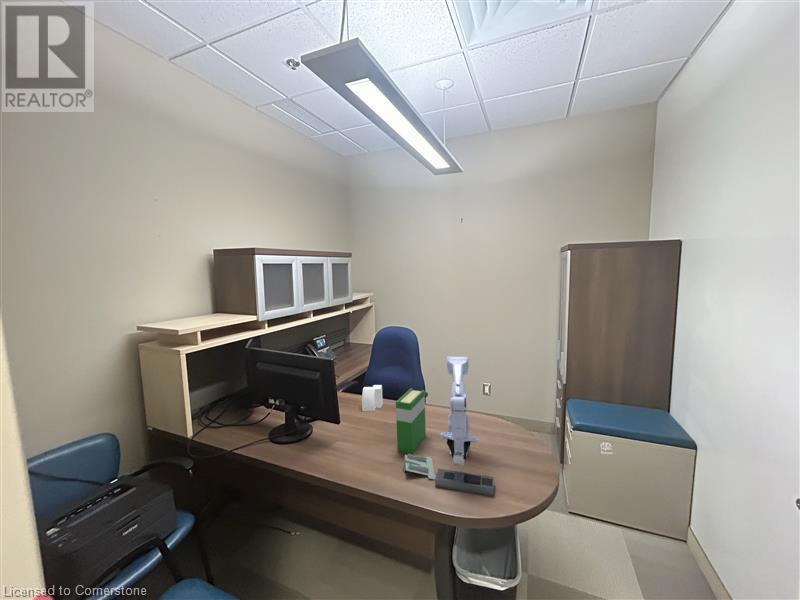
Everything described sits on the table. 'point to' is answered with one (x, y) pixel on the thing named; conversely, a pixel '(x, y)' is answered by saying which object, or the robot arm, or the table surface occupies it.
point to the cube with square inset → (458, 458)
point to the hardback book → (410, 420)
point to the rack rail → (458, 478)
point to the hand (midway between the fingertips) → (459, 457)
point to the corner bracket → (372, 398)
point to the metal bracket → (419, 465)
